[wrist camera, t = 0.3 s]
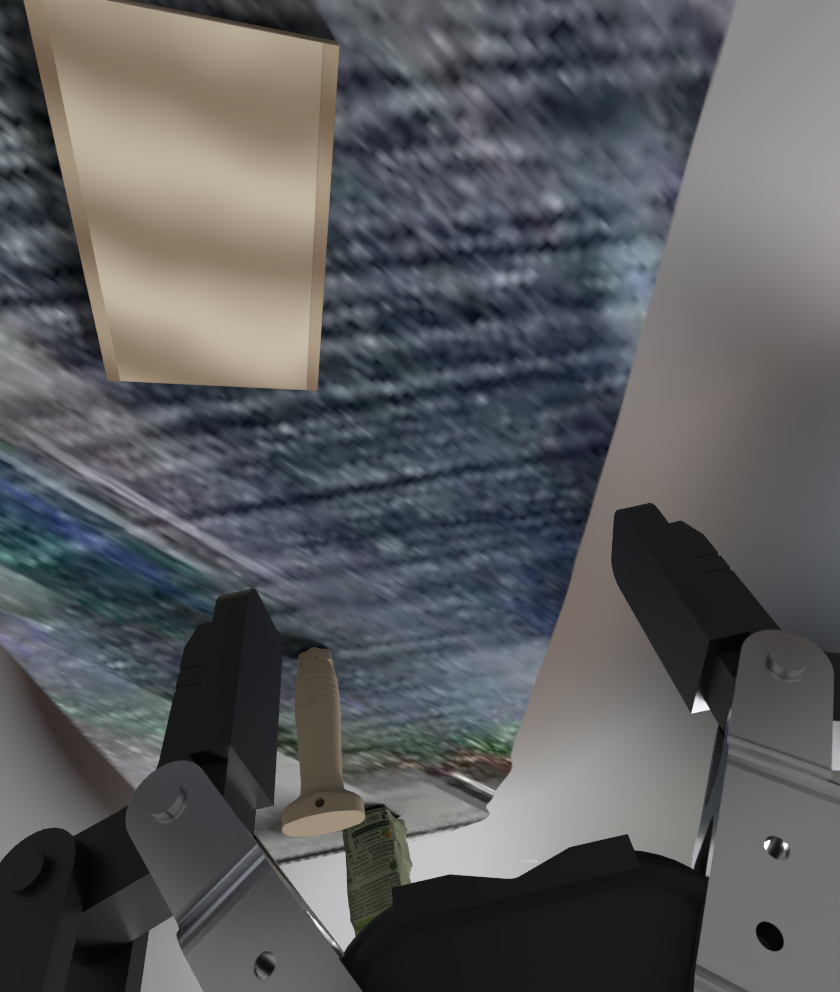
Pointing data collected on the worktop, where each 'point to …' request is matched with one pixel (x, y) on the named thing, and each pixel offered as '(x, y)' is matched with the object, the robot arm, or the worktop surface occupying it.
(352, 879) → the pouch
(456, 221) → the worktop surface
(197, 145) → the birch board
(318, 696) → the handle
